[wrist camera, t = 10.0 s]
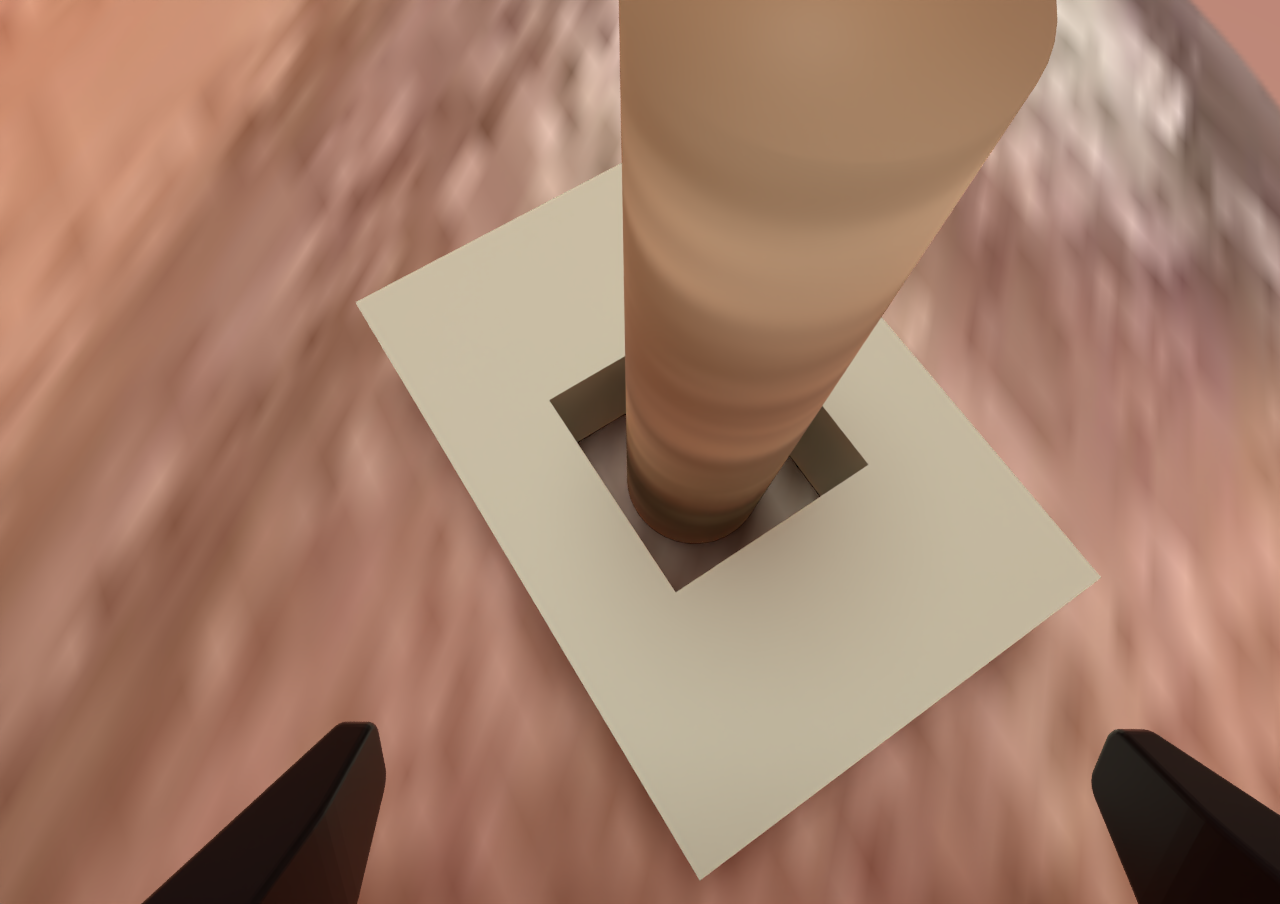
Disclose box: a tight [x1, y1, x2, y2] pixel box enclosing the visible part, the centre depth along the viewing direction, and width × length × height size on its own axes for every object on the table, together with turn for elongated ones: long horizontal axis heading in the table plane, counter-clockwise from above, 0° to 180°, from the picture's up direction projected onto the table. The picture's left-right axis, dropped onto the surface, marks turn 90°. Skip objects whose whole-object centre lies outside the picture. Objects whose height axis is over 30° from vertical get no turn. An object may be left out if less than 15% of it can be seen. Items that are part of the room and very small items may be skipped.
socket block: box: [356, 163, 1101, 880], centre depth 17 cm, size 14×10×4 cm
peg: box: [619, 0, 1057, 543], centre depth 12 cm, size 4×4×14 cm
